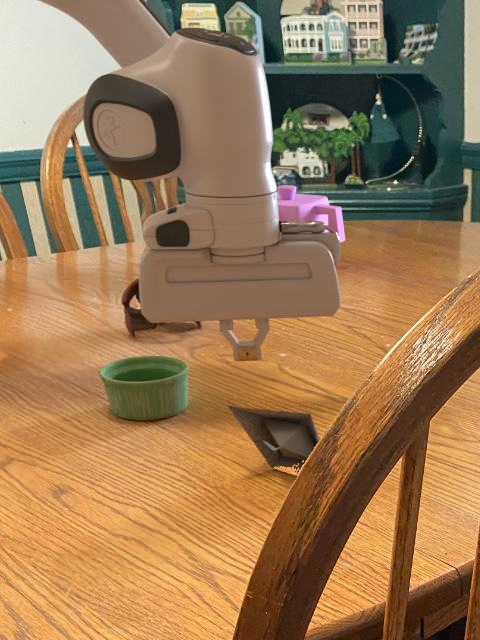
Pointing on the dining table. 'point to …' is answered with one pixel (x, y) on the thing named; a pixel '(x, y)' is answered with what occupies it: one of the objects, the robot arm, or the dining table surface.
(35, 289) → the dining table surface
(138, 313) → the brown hollow shell
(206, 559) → the dining table surface
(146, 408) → the ramekin
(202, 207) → the robot arm
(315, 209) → the teakettle
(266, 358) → the dining table surface
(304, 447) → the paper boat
